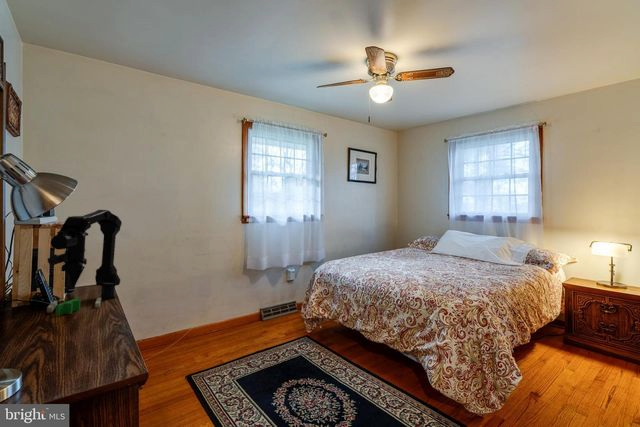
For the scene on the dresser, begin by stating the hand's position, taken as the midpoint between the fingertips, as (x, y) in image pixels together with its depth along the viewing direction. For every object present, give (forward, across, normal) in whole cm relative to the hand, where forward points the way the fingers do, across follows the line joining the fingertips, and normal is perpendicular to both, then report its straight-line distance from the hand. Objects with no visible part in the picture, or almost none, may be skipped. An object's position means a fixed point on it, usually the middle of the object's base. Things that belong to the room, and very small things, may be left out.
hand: (73, 285), depth 124 cm
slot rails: (+12, -12, 0) cm, 17 cm away
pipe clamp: (+12, -4, -1) cm, 13 cm away
